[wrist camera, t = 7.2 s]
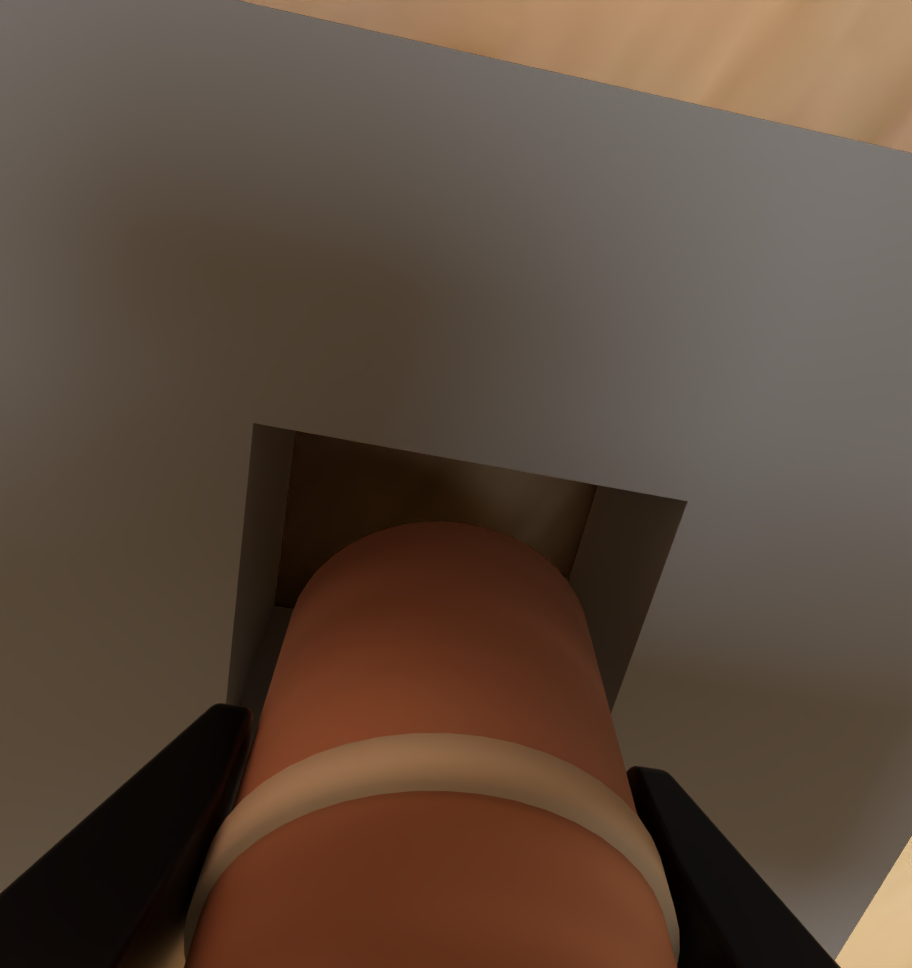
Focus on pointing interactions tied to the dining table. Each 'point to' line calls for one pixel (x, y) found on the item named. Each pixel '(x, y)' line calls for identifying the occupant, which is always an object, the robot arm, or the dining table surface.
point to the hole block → (451, 397)
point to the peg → (434, 778)
